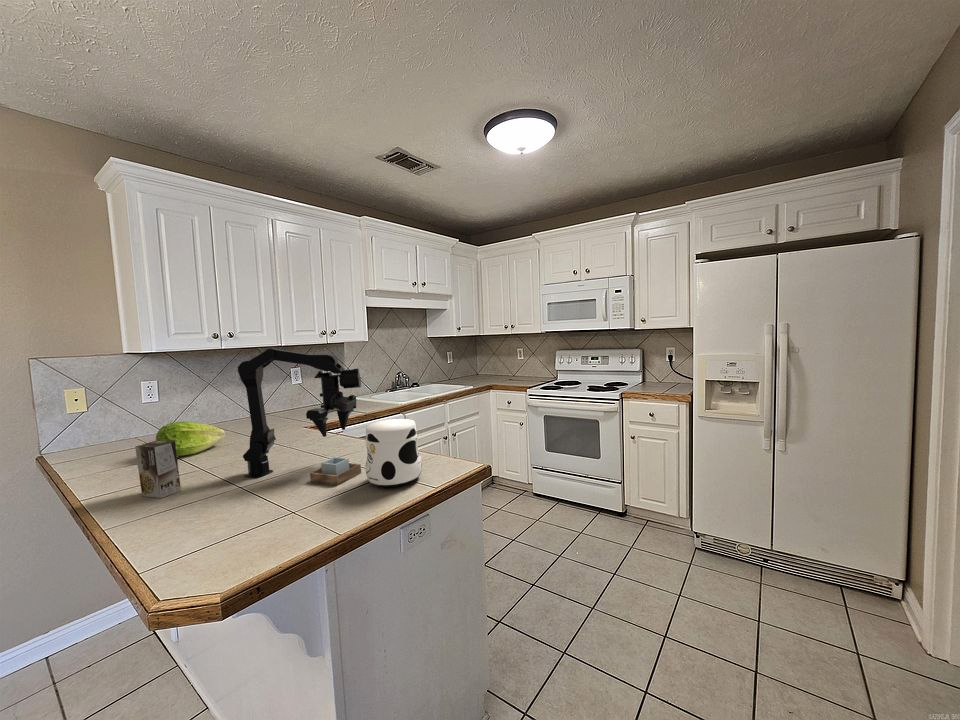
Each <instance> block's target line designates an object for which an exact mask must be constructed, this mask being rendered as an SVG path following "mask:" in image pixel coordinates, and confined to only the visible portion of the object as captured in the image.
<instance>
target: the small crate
mask: <svg viewBox="0 0 960 720" xmlns="http://www.w3.org/2000/svg"><path fill="white" fill-rule="evenodd" d="M349 463H350V459H349V458H348V457H331V458H330V459H327V460H324V461H323V462H321V466H320V467H321V468H322V474H329V475H339V474H341V473H343V472H345V471H346V470H348V469H349Z"/></svg>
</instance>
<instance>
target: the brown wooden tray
mask: <svg viewBox="0 0 960 720" xmlns="http://www.w3.org/2000/svg"><path fill="white" fill-rule="evenodd" d="M360 474H362V464H360V463H353V462H349V469H348V470H346V471H345V472H343V473H341V474H339V475H329V474H322V467H320V468H318V469H314V470H313V471H310V472H309V478H310V479H309V480H310V483H315V484H322V485H331V486H336V487H337V486H340V485H341V484H343V483H345V482H347V481H349V480H351V479H353V478H354V477H357V476H358V475H360Z"/></svg>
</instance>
